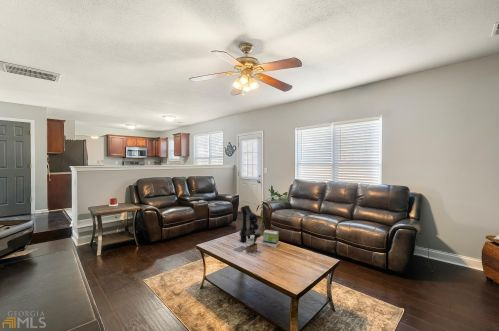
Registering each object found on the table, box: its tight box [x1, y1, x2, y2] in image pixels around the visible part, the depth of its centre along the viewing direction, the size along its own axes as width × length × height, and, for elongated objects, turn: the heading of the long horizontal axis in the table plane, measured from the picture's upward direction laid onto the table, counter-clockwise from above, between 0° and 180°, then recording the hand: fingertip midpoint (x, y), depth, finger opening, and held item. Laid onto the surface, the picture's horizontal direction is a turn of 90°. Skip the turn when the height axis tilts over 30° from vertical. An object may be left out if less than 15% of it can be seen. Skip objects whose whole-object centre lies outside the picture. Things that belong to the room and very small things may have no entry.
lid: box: [245, 236, 259, 245], centre depth 228 cm, size 10×6×3 cm, turn 143°
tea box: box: [262, 229, 280, 248], centre depth 244 cm, size 15×10×15 cm
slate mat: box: [233, 245, 246, 253], centre depth 232 cm, size 9×13×1 cm
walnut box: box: [245, 242, 258, 254], centre depth 228 cm, size 12×5×6 cm, turn 143°
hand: (251, 242), depth 228 cm, fingers closed on lid, 6 cm apart
